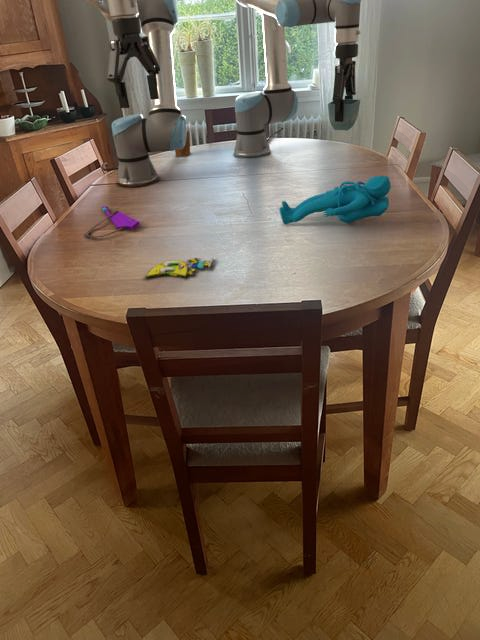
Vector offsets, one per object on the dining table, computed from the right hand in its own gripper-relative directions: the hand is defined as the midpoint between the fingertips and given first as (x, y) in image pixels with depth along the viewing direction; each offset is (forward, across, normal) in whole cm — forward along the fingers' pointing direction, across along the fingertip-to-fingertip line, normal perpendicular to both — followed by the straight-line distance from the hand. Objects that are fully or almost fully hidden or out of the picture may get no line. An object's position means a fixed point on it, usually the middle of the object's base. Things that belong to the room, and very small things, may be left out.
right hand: (343, 118), depth 166 cm
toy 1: (+18, -88, +10) cm, 90 cm away
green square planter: (+4, 0, 0) cm, 4 cm away
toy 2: (+18, -48, -14) cm, 53 cm away
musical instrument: (+18, -72, +50) cm, 89 cm away
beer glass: (+18, +6, +75) cm, 78 cm away
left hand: (-14, -54, +43) cm, 70 cm away
